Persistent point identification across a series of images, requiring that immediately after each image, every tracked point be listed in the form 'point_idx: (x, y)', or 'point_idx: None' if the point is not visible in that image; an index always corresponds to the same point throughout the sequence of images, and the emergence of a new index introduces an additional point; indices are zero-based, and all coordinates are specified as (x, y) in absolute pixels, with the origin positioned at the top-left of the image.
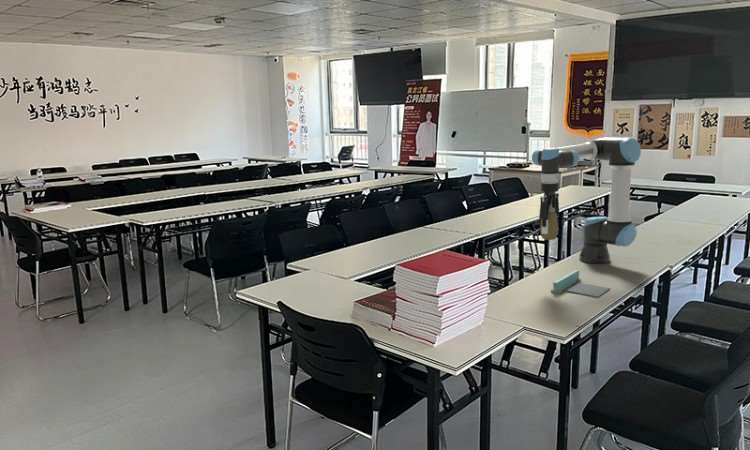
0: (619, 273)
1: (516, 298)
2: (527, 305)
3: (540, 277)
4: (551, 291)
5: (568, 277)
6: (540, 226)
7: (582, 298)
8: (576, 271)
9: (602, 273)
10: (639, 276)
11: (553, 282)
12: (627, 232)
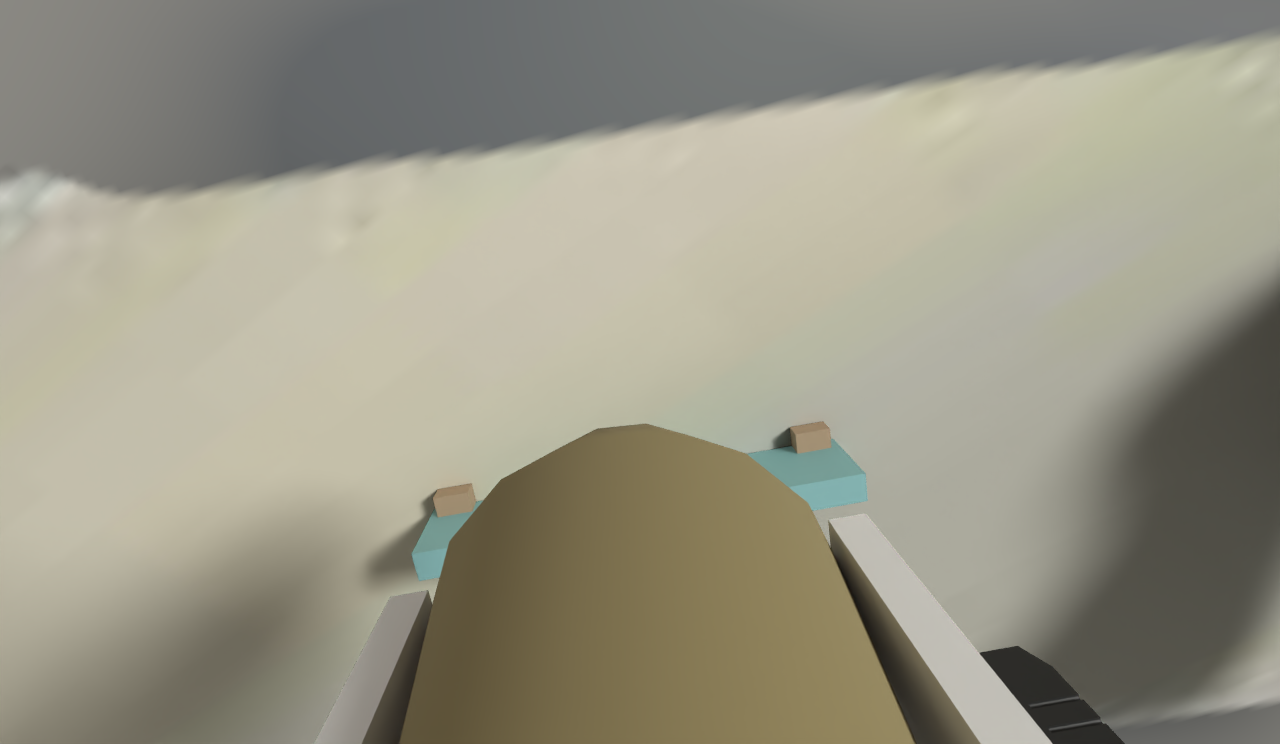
0: (1173, 559)
1: (112, 403)
2: (73, 546)
3: (707, 196)
4: (437, 494)
5: None
6: (490, 548)
7: None
8: (817, 506)
9: (1110, 481)
10: (1168, 674)
11: (411, 554)
12: None
